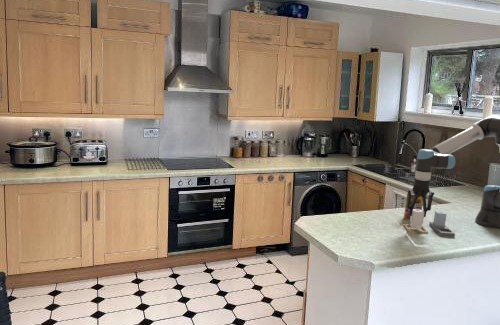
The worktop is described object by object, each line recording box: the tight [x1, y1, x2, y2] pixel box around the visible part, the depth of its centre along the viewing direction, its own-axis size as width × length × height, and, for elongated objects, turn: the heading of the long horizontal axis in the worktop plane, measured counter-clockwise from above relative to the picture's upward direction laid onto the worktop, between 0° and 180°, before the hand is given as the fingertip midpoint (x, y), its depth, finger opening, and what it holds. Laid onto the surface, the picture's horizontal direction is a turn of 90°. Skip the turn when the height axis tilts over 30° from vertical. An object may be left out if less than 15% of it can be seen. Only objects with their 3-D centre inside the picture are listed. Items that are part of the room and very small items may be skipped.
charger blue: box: [432, 210, 447, 227], centre depth 225 cm, size 4×4×9 cm
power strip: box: [428, 221, 456, 238], centre depth 225 cm, size 25×7×4 cm, turn 174°
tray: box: [402, 223, 429, 235], centre depth 221 cm, size 10×10×2 cm
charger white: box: [409, 209, 424, 230], centre depth 220 cm, size 4×4×9 cm
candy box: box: [403, 193, 423, 220], centre depth 240 cm, size 9×4×15 cm, turn 60°
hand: (416, 222), depth 220 cm, fingers closed on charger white, 4 cm apart
